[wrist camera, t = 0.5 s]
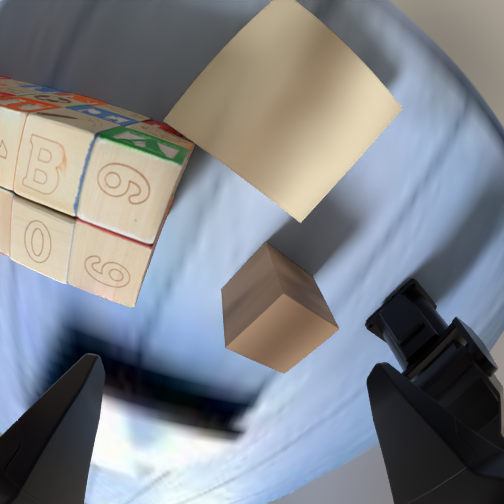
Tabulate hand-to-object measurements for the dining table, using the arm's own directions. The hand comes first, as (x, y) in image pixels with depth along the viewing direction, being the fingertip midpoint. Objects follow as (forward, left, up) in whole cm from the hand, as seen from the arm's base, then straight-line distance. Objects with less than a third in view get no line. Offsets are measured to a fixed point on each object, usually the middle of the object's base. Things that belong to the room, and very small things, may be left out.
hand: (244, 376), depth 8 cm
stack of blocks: (+14, +2, -13) cm, 19 cm away
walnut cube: (-6, +2, -13) cm, 14 cm away
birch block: (+2, -8, -13) cm, 15 cm away
